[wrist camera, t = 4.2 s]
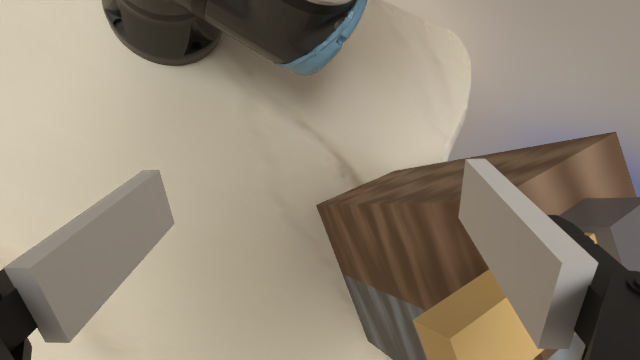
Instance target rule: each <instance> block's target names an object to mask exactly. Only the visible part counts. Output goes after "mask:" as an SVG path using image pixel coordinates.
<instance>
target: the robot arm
mask: <svg viewBox="0 0 640 360" xmlns="http://www.w3.org/2000/svg"><path fill="white" fill-rule="evenodd" d="M366 3H367V0H102V5H103V9H104V12H105V15H106V17H107V19H108V22H109V24H110V26H111V28H112V30H113V31H114V33H115V35H116V36H117V37H118V38H119V40H120V41H121V42H122V43H123V44H124V45H125V46H126V47H127V48H129V49H130V50H131V51H133V52H134V53H136V54H137V55H139V56H141V57H143V58H145V59H147V60H150V61H152V62H156V63H159V64H165V65H184V64H189V63H192V62H195V61H198V60H200V59H202V58H203V57H205V56H206V55H207V54H209V53H210V52H211V51H212V50H213V49H214V47H215V46H216V44H217V43H218V41H219V39H220V36H221V33H222V31H223V32H224V33H226V34H228V35H229V36H231V37H233V38H234V39H236V40H238V41H239V42H241V43H243V44H244V45H246V46H248V47H249V48H251V49H253V50H254V51H256V52H258V53H259V54H261V55H263V56H264V57H266V58H268V59H269V60H271V61H273V62H274V63H275V64H276V65H278V66H281V67H286V68H288V69H290V70H292V71H293V72H295V73H297V74H300V75H311V74H313V73H316V72H317V71H319V70H320V69H322V68H323V67H324V66H325V65H326V64H328V63H329V62H330V61H331V60H332V58H333V57H334V56H335V55H336V54H337V53H338V52H339V50H340V49H341V47H342V45H343V42H344V41H345V40H346V39H348V38H349V36H350V35H351V34H352V32H353V31H354V29H355V27H356V26H357V24H358V22H359V20H360V18H361V16H362V14H363V11H364V9H365V6H366ZM458 218H459V219H460V221H461V223H462V224H463V226H464V228H465V229H466V231H467V233H468V234H469V236H470V238H471V239H472V241H473V243H474V244H475V246H476V248H477V249H478V251H479V253H480V254H481V256H482V257H483V259H484V261H485V262H486V264H487V266H488V267H489V269H490V271H491V272H492V274H493V276H494V277H495V279H496V281H497V282H498V284H499V286H500V287H501V289H502V291H503V292H504V294H505V296H506V297H507V299H508V301H509V302H510V304H511V305H512V307H513V309H514V310H515V312H516V314H517V315H518V317H519V319H520V320H521V322H522V324H523V325H524V327H525V329H526V330H527V332H528V334H529V335H530V337H531V339H532V340H533V342H534V344H535V345H536V347H537V349H569V347H570V345H571V342H572V339H573V336H574V333H575V332H576V334H577V335H578V336H579V338H580V339H581V340H582V342H583V343H584V344H585V348H584V351H583V354H582V356H581V359H580V360H640V272H639V271H629V270H628V269H626V268H625V267H624V266H623V265H622V264H620V263H619V262H618V261H617V260H616V259H615V258H613V257H612V256H611V255H610V254H609V253H608V252H606V251H605V250H604V249H603V248H602V247H600V246H599V245H598V244H595V243H594V241H593V240H592V239H591V238H590V237H589V236H587V235H585V233H584V232H583V231H582V230H580V229H579V228H578V227H577V226H576V225H575V224H573V223H572V222H570V221H568V220H566V219H564V218H562V217H560V216H558V215H546V214H545V213H544V212H543V211H542V210H540V209H539V208H538V207H537V206H536V205H535V204H534V203H533V202H532V201H531V200H530V199H529V198H527V197H526V196H525V195H524V194H523V193H522V192H521V191H520V190H519V189H518V188H517V187H515V186H514V185H513V184H512V183H511V182H510V181H509V180H508V179H507V178H506V177H505V176H504V175H502V174H501V173H500V172H499V171H498V170H497V169H496V168H495V167H494V166H493V165H492V164H490V163H489V162H488V161H487V160H486V159H485V158H484V159H465V167H464V176H463V184H462V192H461V200H460V209H459V217H458ZM173 224H174V220H173V217H172V213H171V210H170V206H169V203H168V199H167V196H166V192H165V189H164V185H163V182H162V178H161V175H160V171H159V170H149V171H142V172H140V173H139V174H137V175H136V176H134V177H133V178H132V179H130V180H129V181H127V182H126V183H124V184H123V185H122V186H120V187H119V188H117V189H116V190H114V191H113V192H112V193H110V194H109V195H107V196H106V197H104V198H103V199H102V200H100V201H99V202H97V203H96V204H94V205H93V206H92V207H90V208H89V209H87V210H86V211H84V212H83V213H82V214H80V215H79V216H77V217H76V218H74V219H73V220H71V221H70V222H69V223H67V224H66V225H64V226H63V227H61V228H60V229H59V230H57V231H56V232H54V233H53V234H51V235H50V236H49V237H47V238H46V239H44V240H43V241H41V242H40V243H39V244H37V245H36V246H34V247H33V248H31V249H30V250H29V251H27V252H26V253H24V254H23V255H21V256H20V257H18V258H17V259H16V260H14V261H13V262H11V263H10V264H8V265H7V266H6V267H4V269H2V270H1V271H0V360H31V352H32V346H31V343H30V341H29V340H28V338H27V337H28V336H29V335H30V334H31V333H32V332H33V331H34V330H35V329H36V328H38V330H39V332H40V333H41V335H42V337H43V339H44V340H45V342H56V343H70V342H71V340H72V339H73V338H74V337H75V336H76V335H77V334H78V332H79V331H80V330H81V329H82V328H83V327H84V326H85V324H86V323H87V322H88V321H89V320H90V319H91V318H92V316H93V315H94V314H95V313H96V312H97V311H98V310H99V309H100V307H101V306H102V305H103V304H104V303H105V302H106V301H107V299H108V298H109V297H110V296H111V295H112V294H113V293H114V291H115V290H116V289H117V288H118V287H119V286H120V285H121V284H122V282H123V281H124V280H125V279H126V278H127V277H128V276H129V274H130V273H131V272H132V271H133V270H134V269H135V268H136V266H137V265H138V264H139V263H140V262H141V261H142V260H143V259H144V257H145V256H146V255H147V254H148V253H149V252H150V251H151V249H152V248H153V247H154V246H155V245H156V244H157V243H158V241H159V240H160V239H161V238H162V237H163V236H164V235H165V234H166V232H167V231H168V230H169V229H170V228H171V227H172V226H173Z"/></svg>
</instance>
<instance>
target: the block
mask: <svg viewBox="0 0 640 360" xmlns="http://www.w3.org/2000/svg"><path fill="white" fill-rule="evenodd" d="M559 216H560V217H562V218H564V219H566V220H568V221H570V222H572V223H573V224H575V225H576V226H577V227H578V228H579V229H580V230H582V231H583V232H584V233H585V235H587V236H589V237H590V238H591V239H592V240H593V241H594V243H595V244H598V245H599V246H600V247H602V248H603V249H604V250H605V251H606V252H608V253H609V254H610V255H611V256H612V257H613V258H615V259H616V260H617V261H618V262H619V263H620V264H622V265H623V266H624V267H625V268H626V269H628V270H629V271H639V272H640V197H631V198H585V199H583V200H582V201H580V202H579V203H577V204H576V205H574V206H573V207H571V208H569V209H568V210H566V211H565V212H563V213H562V214H560V215H559ZM413 322H414V325H415V328H416V330H417V333H418V336H419V338H420V341H421V344H422V346H423V349H424V352H425V355H426V357H427V360H533V359H534V358H535V357H536V356H537V355H539V354H540V353H541V352H542V351H543V350H544V349H537V347H536V345H535V344H534V342H533V340H532V339H531V337H530V335H529V334H528V332H527V330H526V329H525V327H524V325H523V324H522V322H521V320H520V319H519V317H518V315H517V314H516V312H515V310H514V309H513V307H512V305H511V304H510V302H509V301H508V299H507V297H506V296H505V294H504V292H503V291H502V289H501V287H500V286H499V284H498V282H497V281H496V279H495V277H494V276H493V274H492V272H491V271H490V269H489V270H487V271H486V272H484V273H483V274H481V275H480V276H478V277H477V278H475V279H474V280H472V281H471V282H469V283H468V284H466V285H465V286H463V287H462V288H460V289H459V290H457V291H456V292H454V293H453V294H451V295H450V296H448V297H447V298H445V299H444V300H442V301H441V302H439V303H438V304H436V305H435V306H433V307H432V308H430V309H429V310H427V311H426V312H424V313H423V314H421V315H420V316H418V317H417V318H415V319H414V320H413Z"/></svg>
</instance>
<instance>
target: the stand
mask: <svg viewBox="0 0 640 360" xmlns="http://www.w3.org/2000/svg"><path fill="white" fill-rule="evenodd" d="M484 158H485V159H486V160H487V161H488V162H489V163H490V164H492V165H493V166H494V167H495V168H496V169H497V170H498V171H499V172H500V173H501V174H502V175H504V176H505V177H506V178H507V179H508V180H509V181H510V182H511V183H512V184H513V185H514V186H515V187H517V188H518V189H519V190H520V191H521V192H522V193H523V194H524V195H525V196H526V197H527V198H529V199H530V200H531V201H532V202H533V203H534V204H535V205H536V206H537V207H538V208H539V209H540V210H542V211H543V212H544V213H545V214H546V215H558V216H559V215H560V214H562V213H563V212H565V211H566V210H568V209H569V208H571V207H573V206H574V205H576V204H577V203H579V202H580V201H582V200H583V199H585V198H631V197H636V194H635V190H634V188H633V184H632V181H631V178H630V175H629V172H628V169H627V165H626V162H625V159H624V156H623V153H622V149H621V146H620V143H619V140H618V137H617V134H616V132H612V133H606V134H601V135H595V136H589V137H584V138H579V139H573V140H567V141H562V142H556V143H550V144H544V145H539V146H533V147H527V148H522V149H517V150H511V151H505V152H499V153H494V154H488V155H482V156H476V157H471V158H465V159H484ZM465 159H459V160H454V161H449V162H443V163H437V164H431V165H426V166H420V167H414V168H409V169H403V170H397V171H393V172H391V173H389V174H386V175H384V176H382V177H380V178H377V179H375V180H373V181H370V182H368V183H366V184H364V185H361V186H359V187H357V188H355V189H352V190H350V191H348V192H345V193H343V194H341V195H339V196H336V197H334V198H332V199H329V200H327V201H325V202H323V203H320V204H318V205H316V206H317V208H318V211H319V214H320V216H321V219H322V221H323V224H324V227H325V229H326V232H327V234H328V237H329V240H330V242H331V245H332V248H333V250H334V253H335V255H336V258H337V261H338V263H339V266H340V268H341V271H342V274H343V276H344V279H345V282H346V284H347V287H348V289H349V292H350V295H351V297H352V300H353V302H354V305H355V308H356V310H357V313H358V316H359V318H360V321H361V323H362V326H363V329H364V331H365V334H366V336H367V339H368V341H369V342H370V343H372V344H373V345H374V346H376V347H377V348H378V349H380V350H381V351H382V352H384V353H385V354H386V355H388V356H389V357H390V358H392V359H393V360H427V357H426V355H425V352H424V349H423V346H422V344H421V341H420V338H419V336H418V333H417V330H416V328H415V325H414V322H413V320H414V319H415V318H417V317H418V316H420V315H421V314H423V313H424V312H426V311H427V310H429V309H430V308H432V307H433V306H435V305H436V304H438V303H439V302H441V301H442V300H444V299H445V298H447V297H448V296H450V295H451V294H453V293H454V292H456V291H457V290H459V289H460V288H462V287H463V286H465V285H466V284H468V283H469V282H471V281H472V280H474V279H475V278H477V277H478V276H480V275H481V274H483V273H484V272H486V271H487V270H489V267H488V266H487V264H486V262H485V261H484V259H483V257H482V256H481V254H480V253H479V251H478V249H477V248H476V246H475V244H474V243H473V241H472V239H471V238H470V236H469V234H468V233H467V231H466V229H465V228H464V226H463V224H462V223H461V221H460V219H459V218H458V217H459V209H460V200H461V192H462V184H463V176H464V167H465ZM584 348H585V344H584V343H583V342H582V340H581V339H580V338H579V336H578V335H577V334H576V332H575V333H574V336H573V339H572V342H571V345H570V347H569V349H544V350H543V351H542V352H541V353H540V354H539V355H537V356H536V357H535V358H534V359H533V360H580V359H581V356H582V354H583V351H584Z"/></svg>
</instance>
